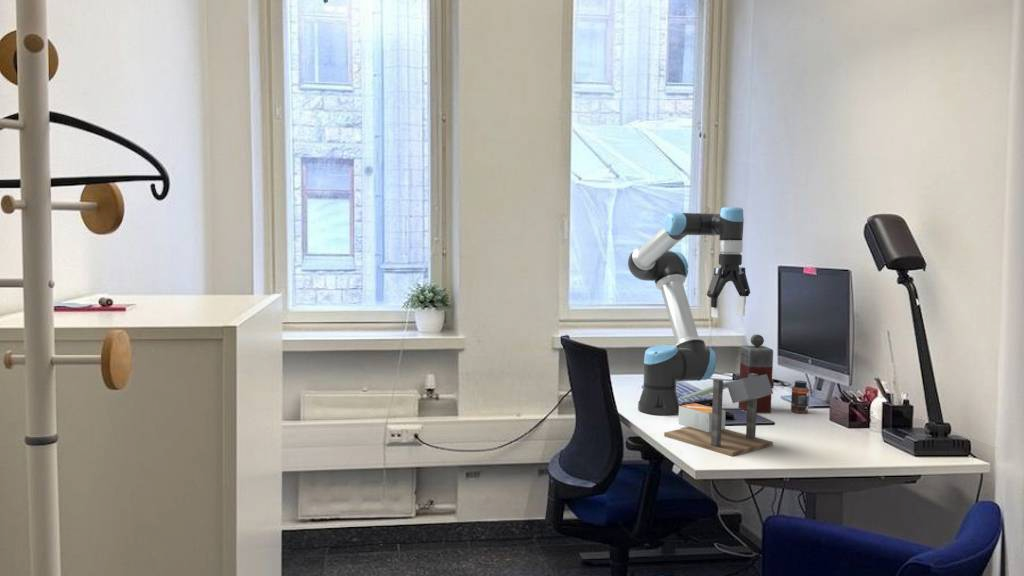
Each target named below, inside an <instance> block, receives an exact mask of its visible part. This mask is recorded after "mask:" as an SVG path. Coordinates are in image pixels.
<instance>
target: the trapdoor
mask: <svg viewBox="0 0 1024 576" xmlns="http://www.w3.org/2000/svg"><path fill="white" fill-rule="evenodd" d="M772 388H773V387H772ZM772 388H771V385H770V382H769V379H768V376H767V374H765V375H760V376H754V377H748V378H742V379H740V378H739V379H736V380H728V381H723V390H726V389H727V391H728V392H729V395H730V398H731V401H732V404H735V403H737V404H738V403H739V402H742V401H747V400H752V399H757V398H761V397H764V396H767V395H770V394H771V395H773V394H774V391H773V389H772ZM709 394H713V386H712V385H711V386H709V387H707V388H703V389H700V390H697V391H695V392H692V393H689V394H686V395H683V396H682V398H683V399H687V398H693V397H699V396H703V395H709Z"/></svg>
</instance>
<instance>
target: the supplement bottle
mask: <svg viewBox="0 0 1024 576" xmlns="http://www.w3.org/2000/svg"><path fill="white" fill-rule="evenodd" d="M807 385H808V384H807V381H805V380H795V381H794V385H793V386H792V388H791V397H790V398H791V402H790V411H791V412H792V413H796V414H807V413H809V406H810V405H809V403H810V402H809V400H810V398H809V397H810V389H809V387H807Z"/></svg>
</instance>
